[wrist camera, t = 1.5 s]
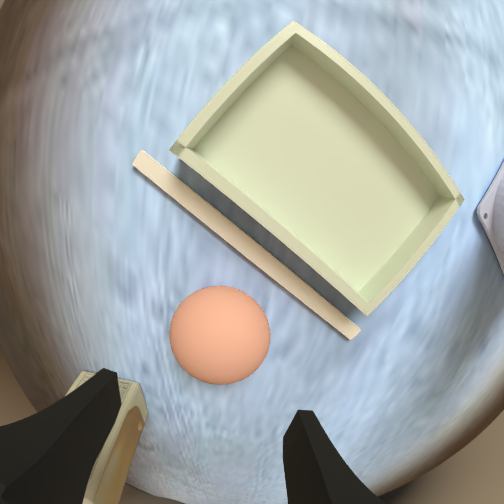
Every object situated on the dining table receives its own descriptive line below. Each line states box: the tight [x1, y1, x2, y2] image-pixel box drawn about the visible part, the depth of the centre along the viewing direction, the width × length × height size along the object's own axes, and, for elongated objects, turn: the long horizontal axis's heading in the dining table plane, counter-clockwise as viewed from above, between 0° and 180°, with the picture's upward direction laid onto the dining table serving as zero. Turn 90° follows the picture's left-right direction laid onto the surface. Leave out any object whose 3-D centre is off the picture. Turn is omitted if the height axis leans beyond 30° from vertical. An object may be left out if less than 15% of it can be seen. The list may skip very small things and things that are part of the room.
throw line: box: [132, 150, 361, 340], centre depth 16 cm, size 18×1×1 cm, turn 50°
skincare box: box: [65, 371, 148, 504], centre depth 14 cm, size 6×4×12 cm
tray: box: [170, 21, 464, 316], centre depth 13 cm, size 14×10×2 cm
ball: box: [170, 286, 270, 385], centre depth 14 cm, size 6×6×6 cm
